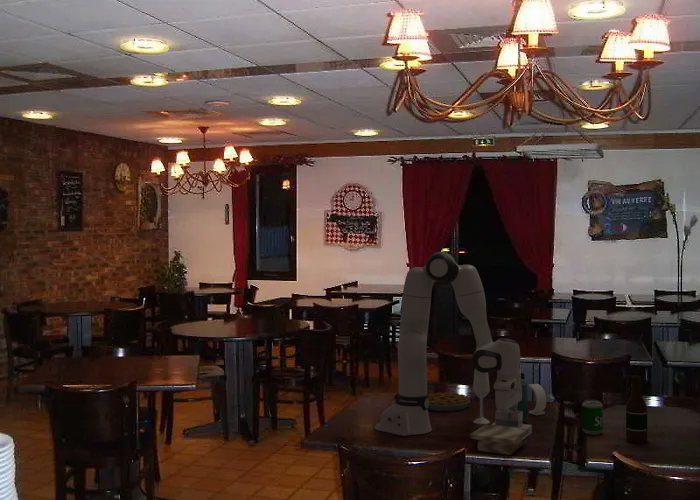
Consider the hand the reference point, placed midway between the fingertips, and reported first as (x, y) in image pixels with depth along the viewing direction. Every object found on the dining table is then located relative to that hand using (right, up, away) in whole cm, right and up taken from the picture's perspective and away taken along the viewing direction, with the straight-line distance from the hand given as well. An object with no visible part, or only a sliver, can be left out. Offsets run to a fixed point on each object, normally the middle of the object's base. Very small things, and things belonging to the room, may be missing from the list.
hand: (509, 417), depth 300 cm
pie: (-19, -6, +47) cm, 51 cm away
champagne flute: (-8, -6, +20) cm, 22 cm away
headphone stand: (+18, -5, +31) cm, 36 cm away
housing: (0, -4, 0) cm, 4 cm away
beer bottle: (+44, -7, -11) cm, 46 cm away
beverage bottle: (+8, -6, +18) cm, 20 cm away
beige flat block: (0, -7, 0) cm, 7 cm away
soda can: (+32, -6, +1) cm, 32 cm away
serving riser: (-7, -7, -18) cm, 20 cm away
